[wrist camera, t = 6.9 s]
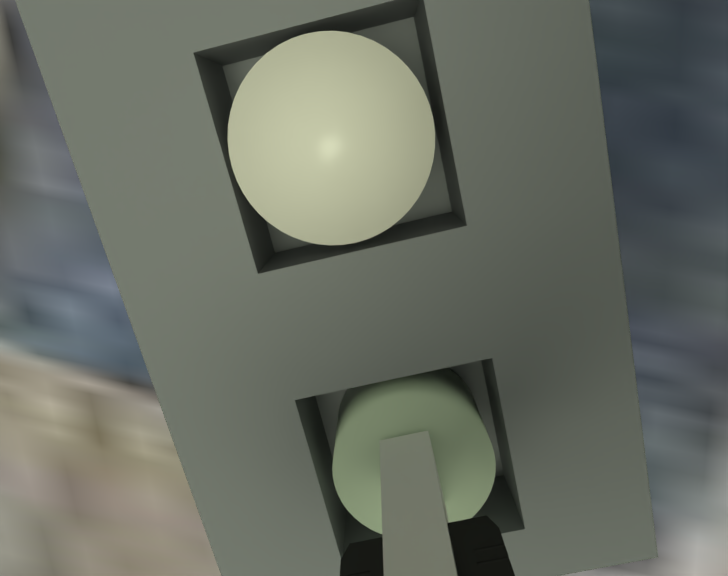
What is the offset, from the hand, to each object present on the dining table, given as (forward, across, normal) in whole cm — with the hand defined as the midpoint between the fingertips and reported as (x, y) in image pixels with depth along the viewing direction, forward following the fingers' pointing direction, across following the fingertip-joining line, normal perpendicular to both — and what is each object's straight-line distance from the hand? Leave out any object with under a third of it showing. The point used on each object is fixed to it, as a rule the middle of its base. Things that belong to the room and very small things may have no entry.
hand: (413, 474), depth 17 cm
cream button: (+2, 0, -10) cm, 10 cm away
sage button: (+3, 0, 0) cm, 3 cm away
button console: (+6, 0, -10) cm, 12 cm away
